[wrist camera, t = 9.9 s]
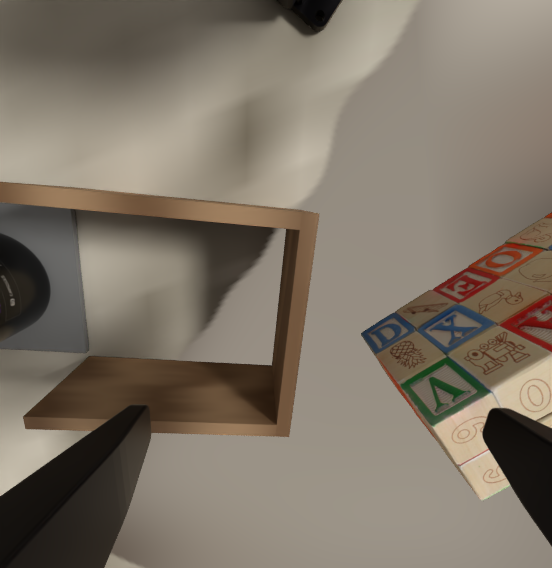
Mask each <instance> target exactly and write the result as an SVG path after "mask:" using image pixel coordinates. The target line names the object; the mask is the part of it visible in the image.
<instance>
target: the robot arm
mask: <svg viewBox="0 0 552 568" xmlns="http://www.w3.org/2000/svg"><path fill="white" fill-rule="evenodd" d="M277 1H278V2H279V3H280V4H281V5H282V6H283V7H284V8H286V9H292V10H293V11H294V12H295V13H296V14H297V15H298V16H299V17H300V18H302V19H303V20H304V21H305V22H306V23H307V24H308V25H309V26H310V27H311V28H312V29H313V30H315V31H322V30H323V29H324V28H325V27H326V26H327V24H328V22H329V21H330V19H331V18H332V16H333V14H334V13H335V11H336V10H337V8H338V7H339V5H340V3H341V2H342V0H277ZM316 15H321V16H322V18H323V21H320V22H319V21H317V20H316V18H315V16H316ZM482 436H483V440H484V442H485V444H486V446H487V447H488V449H489V451H490V452H491V454H492V456H493V457H494V459H495V460H496V462H497V464H498V465H499V467H500V469H501V470H502V472H503V474H504V475H505V477H506V479H507V480H508V482H509V484H510V485H511V487H512V488H513V490H514V492H515V493H516V495H517V497H518V498H519V500H520V501H521V503H522V504H523V506H524V507H525V509H526V510H527V512H528V513H529V515H530V516H531V518H532V519H533V521H534V522H535V523H536V525H537V526H538V528H539V529H540V530H541V532H542V533H543V535H544V536H545V537H546V539H547V540H548V542H549V543H550V545H551V546H552V428H550V427H548V426H546V425H544V424H542V423H539V422H537V421H535V420H533V419H531V418H529V417H527V416H524V415H522V414H520V413H518V412H516V411H514V410H512V409H509V408H492V409H491V410H490V411H489V413H488V416H487V419H486V422H485V425H484V428H483V431H482ZM150 439H151V420H150V409H149V406H148V405H146V404H132V405H129V406H128V407H126V408H125V409H123V410H122V411H120V412H119V413H118V414H116V415H115V416H113V417H112V418H111V419H109V420H108V421H106V422H105V423H103V424H102V425H101V426H99V427H98V428H96V429H95V430H94V431H92V432H91V433H89V434H88V435H87V436H85V437H84V438H82V439H81V440H79V441H78V442H77V443H75V444H74V445H72V446H71V447H70V448H68V449H67V450H65V451H64V452H62V453H61V454H60V455H58V456H57V457H55V458H54V459H53V460H51V461H50V462H48V463H47V464H45V465H44V466H43V467H41V468H40V469H38V470H37V471H36V472H34V473H33V474H31V475H30V476H28V477H27V478H26V479H24V480H23V481H21V482H20V483H19V484H17V485H16V486H14V487H13V488H11V489H10V490H9V491H7V492H6V493H4V494H3V495H2V496H0V568H104V567H105V565H106V562H107V560H108V558H109V555H110V553H111V551H112V548H113V546H114V543H115V541H116V539H117V536H118V534H119V532H120V529H121V527H122V524H123V521H124V519H125V517H126V514H127V511H128V509H129V506H130V503H131V500H132V497H133V493H134V490H135V487H136V484H137V481H138V478H139V474H140V471H141V468H142V465H143V462H144V459H145V456H146V452H147V449H148V446H149V443H150Z"/></svg>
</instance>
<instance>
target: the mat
mask: <svg viewBox="0 0 552 568" xmlns="http://www.w3.org/2000/svg"><path fill="white" fill-rule="evenodd" d="M0 233H2V234H5V235H7V236H9V237H11V238H14V239H15V240H17V241H19V242H21V243H22V244H23V245H25V246H26V247H27V248H29V249H30V250H31V251H32V252H33V253H34V254H35V255H36V256H37V258H38V259H39V260H40V261H41V263H42V264H43V266H44V268H45V270H46V272H47V274H48V277H49V281H50V287H51V295H50V301H49V304H48V307H47V309H46V311H45V313H44V314H43V315H42V316H41V318H40V319H39V320H38V321H36V322H35V323H34V324H32V325H31V326H29V327H28V328H26V329H24V330H22V331H20V332H18V333H17V334H15V335H13V336H11V337H9V338H7V339H5V340H3V341H1V342H0V349H15V350H35V351H54V352H73V353H87V352H88V351H89V344H88V334H87V325H86V315H85V305H84V295H83V285H82V276H81V266H80V256H79V246H78V237H77V227H76V217H75V209H66V208H55V207H45V206H34V205H23V204H12V203H2V202H0Z"/></svg>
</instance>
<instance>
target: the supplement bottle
mask: <svg viewBox="0 0 552 568" xmlns="http://www.w3.org/2000/svg"><path fill="white" fill-rule="evenodd" d="M50 295H51V287H50V281H49V277H48V274H47V272H46V270H45V268H44V266H43V264H42V263H41V261H40V260H39V259H38V258H37V256H36V255H35V254H34V253H33V252H32V251H31V250H30V249H29V248H27V247H26V246H25V245H23V244H22V243H21V242H19V241H17V240H15V239H14V238H11V237H9V236H7V235H5V234H2V233H0V342H1V341H3V340H5V339H7V338H9V337H11V336H13V335H15V334H17V333H18V332H20V331H22V330H24V329H26V328H28V327H29V326H31V325H32V324H34V323H35V322H36V321H38V320H39V319H40V318H41V316H42V315H43V314H44V313H45V311H46V309H47V307H48V304H49V301H50Z"/></svg>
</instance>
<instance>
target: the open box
mask: <svg viewBox="0 0 552 568" xmlns="http://www.w3.org/2000/svg"><path fill="white" fill-rule="evenodd" d="M0 202H4V203H15V204H26V205H37V206H47V207H58V208H69V209H80V210H90V211H101V212H112V213H123V214H133V215H144V216H155V217H166V218H176V219H187V220H198V221H209V222H220V223H230V224H241V225H252V226H263V227H273V228H284V229H286V237H285V247H284V256H283V265H282V275H281V284H280V294H279V303H278V313H277V322H276V323H277V324H276V333H275V342H274V352H273V361H272V366H271V365H252V364H232V363H212V362H192V361H174V360H154V359H135V358H115V357H96V356H89V357H88V358H87V359H86V360H85V361H84V362H82V363H81V364H80V365H79V366H78V367H77V368H76V369H75V370H74V371H73V372H72V373H70V374H69V375H68V376H67V377H66V378H65V379H64V380H63V381H62V382H61V383H59V384H58V385H57V386H56V387H55V388H54V389H53V390H52V391H51V392H50V393H48V394H47V395H46V396H45V397H44V398H43V399H42V400H41V401H40V402H39V403H38V404H36V405H35V406H34V407H33V408H32V409H31V410H30V411H29V412H28V413H27V414H25V415H24V416H23V419H24V424H25V429H45V430H79V431H94V430H95V429H96V428H98V427H99V426H101V425H102V424H103V423H105V422H106V421H108V420H109V419H111V418H112V417H113V416H115V415H116V414H118V413H119V412H120V411H122V410H123V409H125V408H126V407H128V406H129V405H132V404H146V405H148V406H149V409H150V420H151V433H181V434H213V435H214V434H215V435H246V436H247V435H248V436H280V437H289V433H290V425H291V419H292V412H293V404H294V397H295V390H296V382H297V375H298V367H299V360H300V352H301V345H302V337H303V331H304V323H305V315H306V308H307V301H308V294H309V286H310V279H311V272H312V264H313V257H314V250H315V242H316V234H317V227H318V220H319V214H318V213H313V212H308V211H303V210H296V209H286V208H275V207H265V206H255V205H245V204H235V203H225V202H215V201H205V200H195V199H185V198H175V197H164V196H154V195H144V194H134V193H124V192H114V191H104V190H94V189H84V188H74V187H61V186H48V185H35V184H22V183H9V182H0Z"/></svg>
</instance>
